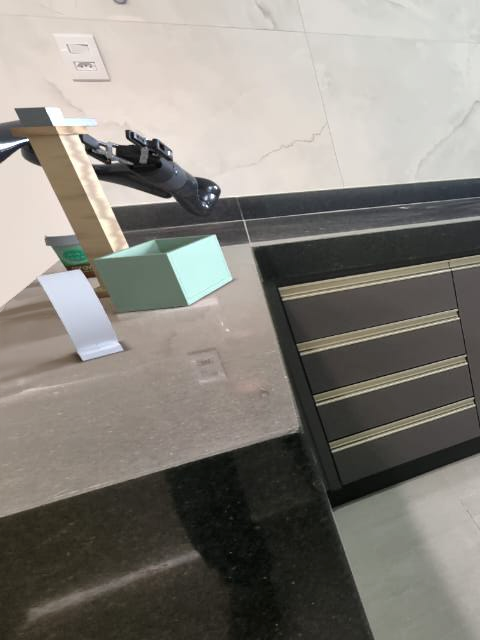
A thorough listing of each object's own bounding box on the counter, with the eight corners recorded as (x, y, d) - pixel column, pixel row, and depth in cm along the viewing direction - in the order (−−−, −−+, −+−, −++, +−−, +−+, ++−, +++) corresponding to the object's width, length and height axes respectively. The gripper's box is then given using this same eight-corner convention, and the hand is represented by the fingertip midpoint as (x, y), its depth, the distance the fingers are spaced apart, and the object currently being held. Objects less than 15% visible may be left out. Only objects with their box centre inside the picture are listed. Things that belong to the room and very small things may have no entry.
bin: (188, 305, 100) (166, 253, 96) (117, 312, 98) (91, 259, 94) (232, 279, 117) (215, 234, 112) (173, 285, 114) (153, 239, 110)
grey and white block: (79, 126, 110) (71, 109, 108) (106, 125, 111) (98, 108, 109) (23, 127, 97) (13, 108, 95) (54, 126, 98) (45, 107, 96)
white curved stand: (116, 343, 83) (80, 269, 78) (125, 352, 80) (86, 274, 75) (77, 353, 80) (35, 276, 75) (83, 362, 76) (40, 282, 71)
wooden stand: (113, 286, 116) (37, 127, 102) (160, 282, 117) (91, 125, 104) (84, 298, 108) (-3, 128, 94) (135, 293, 109) (57, 125, 96)
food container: (55, 283, 121) (32, 239, 117) (64, 277, 126) (42, 235, 121) (125, 273, 127) (105, 231, 122) (131, 268, 131) (112, 227, 127)
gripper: (123, 156, 128) (63, 119, 112) (190, 153, 131) (141, 116, 115) (125, 186, 127) (66, 153, 111) (192, 182, 130) (143, 149, 114)
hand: (104, 134), depth 113 cm, fingers open, 8 cm apart
